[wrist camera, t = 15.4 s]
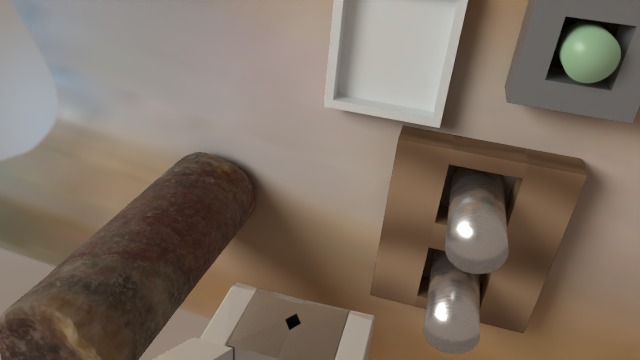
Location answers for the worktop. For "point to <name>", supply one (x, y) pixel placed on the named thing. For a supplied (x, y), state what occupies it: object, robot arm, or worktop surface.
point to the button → (588, 51)
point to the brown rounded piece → (132, 268)
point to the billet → (476, 222)
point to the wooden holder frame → (431, 220)
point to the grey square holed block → (554, 83)
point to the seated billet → (452, 307)
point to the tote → (393, 57)
